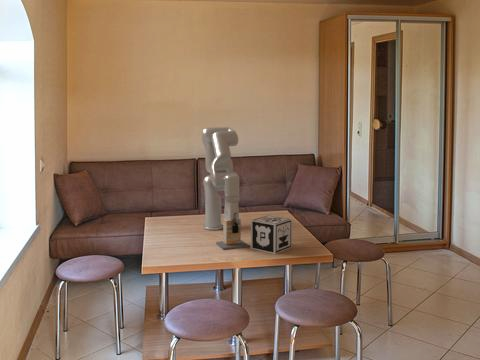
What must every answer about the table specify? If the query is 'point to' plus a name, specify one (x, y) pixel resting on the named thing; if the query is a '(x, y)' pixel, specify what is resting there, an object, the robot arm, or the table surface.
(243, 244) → the rubber mat
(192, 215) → the table surface
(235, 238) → the supplement box
